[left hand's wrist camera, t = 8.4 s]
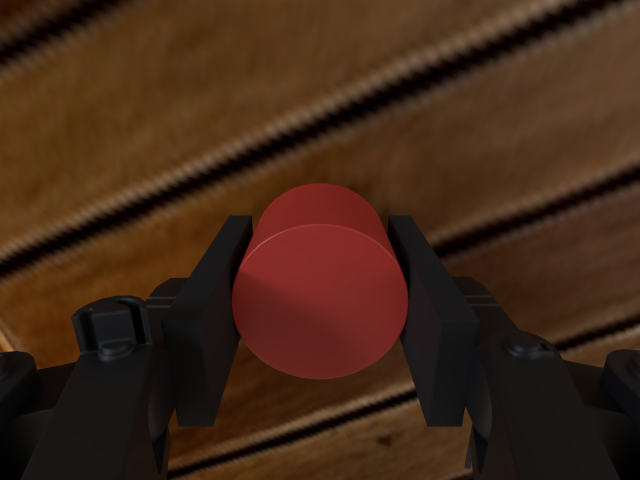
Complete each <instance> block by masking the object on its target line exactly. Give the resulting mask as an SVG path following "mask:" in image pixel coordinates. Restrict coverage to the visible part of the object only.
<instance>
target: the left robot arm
mask: <svg viewBox="0 0 640 480" xmlns="http://www.w3.org/2000/svg"><path fill="white" fill-rule="evenodd" d="M252 236H253V228H252V216H229V218H228V219H227V221H226V222H225V224H224V225H223V227H222V228H221V230H220V231H219V233H218V234H217V236H216V237H215V239H214V240H213V242H212V243H211V245H210V246H209V248H208V250H207V251H206V253H205V254H204V256H203V257H202V259H201V260H200V262H199V263H198V265H197V266H196V268H195V269H194V271H193V272H192V274H191V275H190V277H189V278H170V279H169V280H167V281H165V282H164V283H162V284H160V285H159V286H157V287H156V288H155V290H154V291H153V292H152V293H151V295H150V296H149V299H147V300H146V301H144V300H142V299H141V298H139V297H134V296H114V297H108V298H103V299H100V300H97V301H95V302H92V303H89V304H87V305H86V306H84V307H82V308H80V309H79V310H78V311H77V312H76V313H75V314H74V315H73V316H72V317H71V318H72V322H73V326H74V329H75V333H76V337H77V341H78V345H79V349H80V352H81V354H80V356H79V358H78V360H77V362H73V363H70V364H65V365H60V366H55V367H49V368H44V369H39V370H37V367H36V364H35V360H34V357H32V356H31V355H30V354H28V353H26V352H19V351H12V352H1V353H0V480H166V477H167V469H168V460H169V451H170V443H171V441H170V434H169V429H168V423H169V421H170V418H171V416H172V414H173V412H174V409H175V408H176V414H177V420H178V426H179V427H213V425H214V422H215V418H216V415H217V412H218V409H219V405H220V402H221V399H222V396H223V392H224V389H225V386H226V383H227V379H228V376H229V373H230V370H231V366H232V363H233V360H234V356H235V353H236V350H237V347H238V343H239V340H240V337H241V336H240V334H239V332H238V330H237V328H236V325H235V323H234V320H233V315H232V306H231V291H232V286H233V282H234V279H235V276H236V274H237V271H238V269H239V267H240V264H241V262H242V260H243V257H244V255H245V253H246V250H247V248H248V246H249V243H250V241H251V239H252ZM387 236H388V238H389V241H390V243H391V245H392V248H393V250H394V252H395V255H396V257H397V260H398V262H399V264H400V267H401V269H402V271H403V274H404V277H405V279H406V282H407V287H408V292H409V308H408V315H407V319H406V323H405V325H404V328H403V330H402V332H401V334H400V339H401V343H402V346H403V349H404V352H405V356H406V359H407V362H408V365H409V369H410V372H411V375H412V378H413V382H414V385H415V388H416V391H417V395H418V398H419V401H420V404H421V408H422V411H423V414H424V417H425V421H426V424H427V426H432V427H462V422H463V416H464V410H465V407H466V409H467V411H468V413H469V416H470V418H471V420H472V422H473V423H472V429H471V434H470V440H469V445H468V451H467V456H466V462H465V468H468V469H470V467H471V462H472V468H473V476H474V480H640V351H636V350H627V349H623V350H616V351H613V352H611V353H610V354H609V355H607V358H606V362H605V365H604V368H600V367H595V366H590V365H585V364H580V363H575V362H570V361H566V360H562V358H561V356H560V353H559V352H558V351H557V350H556V348H555V347H554V346H553V345H552V344H551V343H549V342H548V341H546V340H545V339H543V338H541V337H539V336H537V335H534V334H532V333H529V332H525V331H520V330H519V329H518V328H517V327H516V326H515V324H514V323H513V322H512V320H511V319H510V318H509V317H508V315H507V314H506V313H505V312H504V310H503V309H502V308H501V307H500V306H499V304H498V303H497V301H496V300H495V299H494V298H492V295H491V294H490V293H489V291H488V290H487V289H486V288H485V286H484V285H482V284H481V283H479V282H477V281H476V280H474V279H472V278H471V277H451V276H450V275H449V273H448V272H447V270H446V269H445V267H444V266H443V264H442V263H441V261H440V260H439V258H438V257H437V255H436V254H435V252H434V251H433V249H432V248H431V246H430V244H429V243H428V241H427V240H426V238H425V237H424V235H423V234H422V232H421V231H420V229H419V228H418V226H417V225H416V223H415V222H414V220H413V219H412V217H411V216H389V218H388V233H387Z"/></svg>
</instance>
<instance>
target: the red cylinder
mask: <svg viewBox="0 0 640 480" xmlns="http://www.w3.org/2000/svg"><path fill="white" fill-rule="evenodd" d="M231 306H232V315H233V320H234V323H235V325H236V328H237V330H238V332H239V334H240V336H241V338H242V340H243V341H244V342H245V344H246V345H247V346H248V348H249V349H250V350H251V351H252V352H253V353H254V354H255V355H256V356H257V357H259V358H260V359H261V360H262V361H264V362H265V363H267V364H268V365H270V366H272V367H273V368H276V369H278V370H280V371H282V372H285V373H288V374H290V375H294V376H298V377H303V378H311V379H329V378H337V377H342V376H346V375H349V374H353V373H356V372H358V371H360V370H362V369H365V368H366V367H368V366H370V365H372V364H373V363H375V362H376V361H377V360H379V359H380V358H381V357H383V356H384V355H385V354H386V353H387V352H388V351H389V350H390V349H391V347H392V346H393V345H394V344H395V342H396V341H397V339H398V338H399V336H400V334H401V332H402V330H403V328H404V325H405V323H406V319H407V315H408V308H409V292H408V287H407V282H406V279H405V277H404V274H403V271H402V269H401V267H400V264H399V262H398V260H397V257H396V255H395V252H394V250H393V248H392V245H391V243H390V241H389V238H388V236H387V234H386V231H385V229H384V227H383V224H382V222H381V220H380V218H379V216H378V214H377V213H376V211H375V210H374V208H373V207H372V206H371V205H370V204H369V203H368V202H367V201H366V200H365V199H364V198H362V197H361V196H360V195H358V194H357V193H355V192H353V191H351V190H349V189H347V188H344V187H341V186H338V185H334V184H327V183H314V184H306V185H302V186H298V187H296V188H293V189H291V190H289V191H287V192H285V193H283V194H282V195H280V196H279V197H278V198H276V199H275V200H274V201H273V202H272V203H271V204H270V205H269V206H268V207H267V209H266V210H265V211H264V213H263V215H262V216H261V218H260V220H259V222H258V225H257V227H256V229H255V232H254V234H253V236H252V239H251V241H250V243H249V246H248V248H247V250H246V253H245V255H244V257H243V260H242V262H241V264H240V267H239V269H238V271H237V274H236V276H235V279H234V282H233V286H232V291H231Z"/></svg>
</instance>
